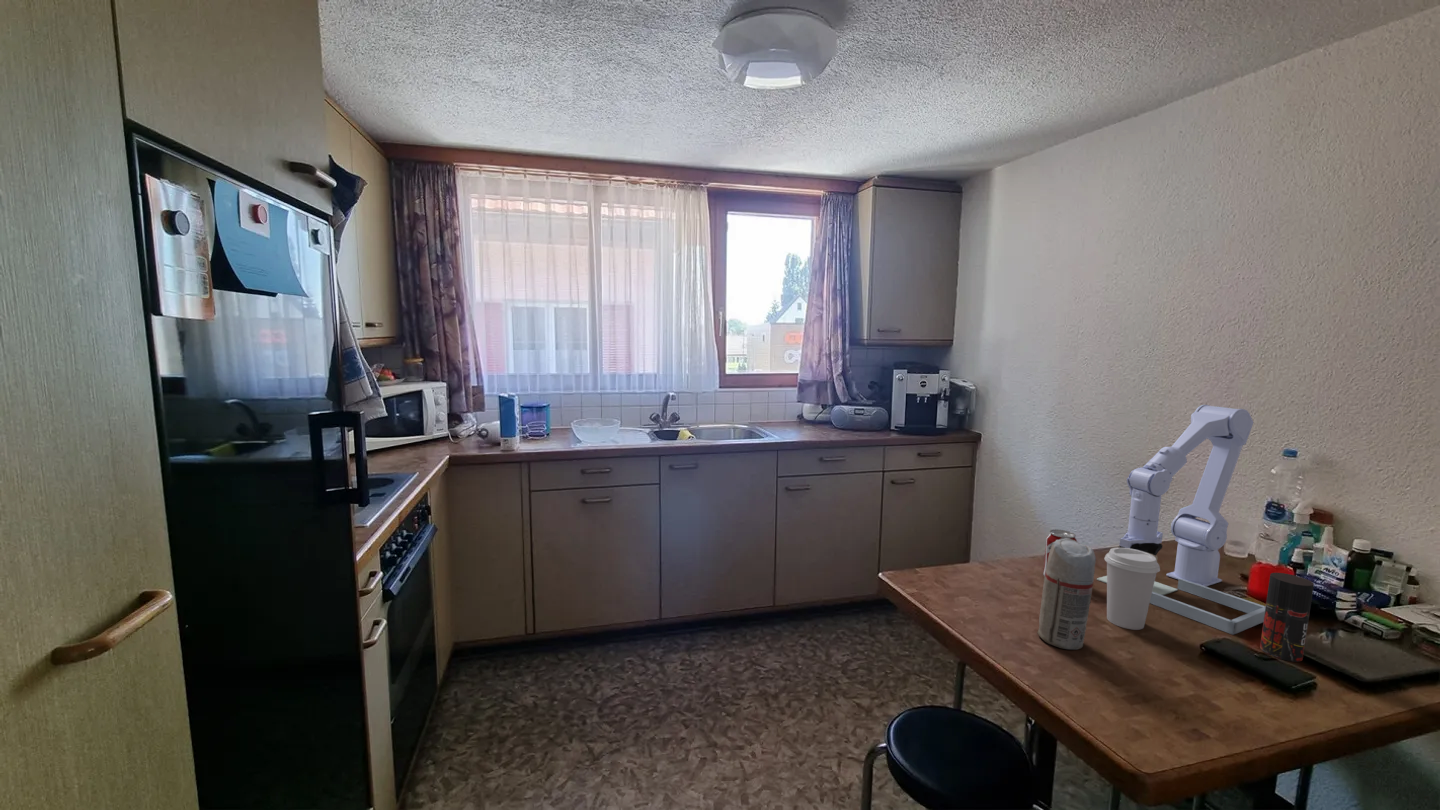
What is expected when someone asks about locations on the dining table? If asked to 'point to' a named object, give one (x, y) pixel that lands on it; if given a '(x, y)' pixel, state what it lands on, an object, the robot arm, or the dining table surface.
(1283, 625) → the deodorant
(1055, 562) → the spray can
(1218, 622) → the frame
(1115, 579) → the coffee cup
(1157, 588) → the pad
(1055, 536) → the soda can
